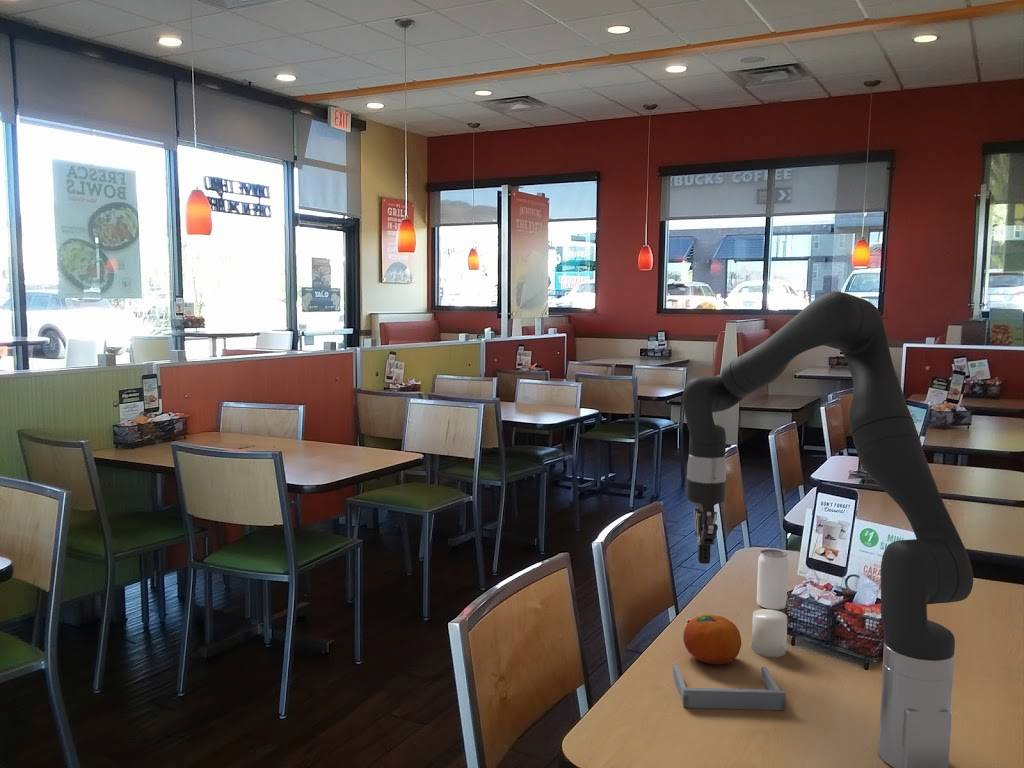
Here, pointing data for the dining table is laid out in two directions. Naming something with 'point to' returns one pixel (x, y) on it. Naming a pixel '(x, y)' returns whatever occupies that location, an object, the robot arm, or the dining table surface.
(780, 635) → the white rounded cube
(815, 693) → the dining table surface
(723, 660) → the fruit
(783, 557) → the can
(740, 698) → the grey u-shaped bracket
